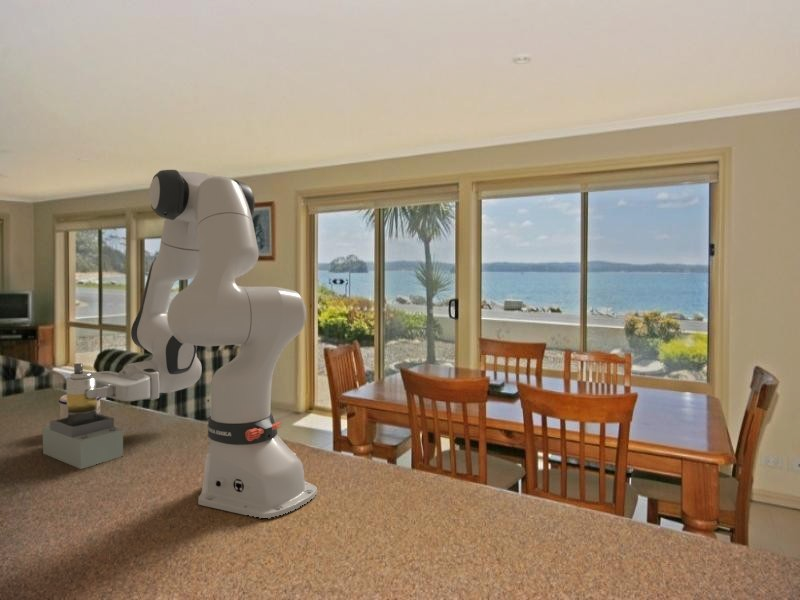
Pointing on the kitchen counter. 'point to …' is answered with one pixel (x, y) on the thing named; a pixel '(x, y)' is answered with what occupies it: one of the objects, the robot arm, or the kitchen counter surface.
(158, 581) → the kitchen counter surface
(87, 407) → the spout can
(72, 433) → the block
